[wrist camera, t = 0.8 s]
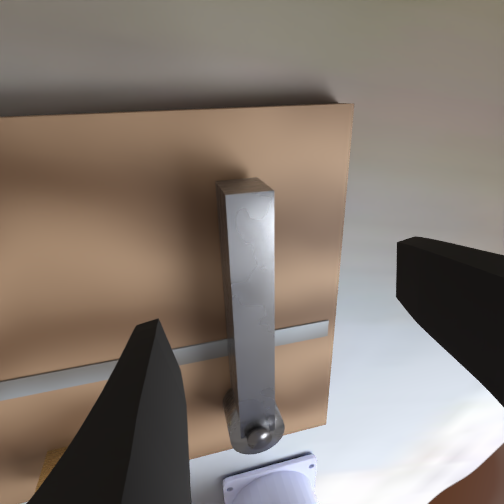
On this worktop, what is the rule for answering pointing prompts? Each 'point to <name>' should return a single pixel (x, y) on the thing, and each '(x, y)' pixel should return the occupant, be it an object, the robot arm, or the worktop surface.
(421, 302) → the robot arm
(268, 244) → the swing bar
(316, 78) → the worktop surface
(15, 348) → the latch board
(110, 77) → the worktop surface
